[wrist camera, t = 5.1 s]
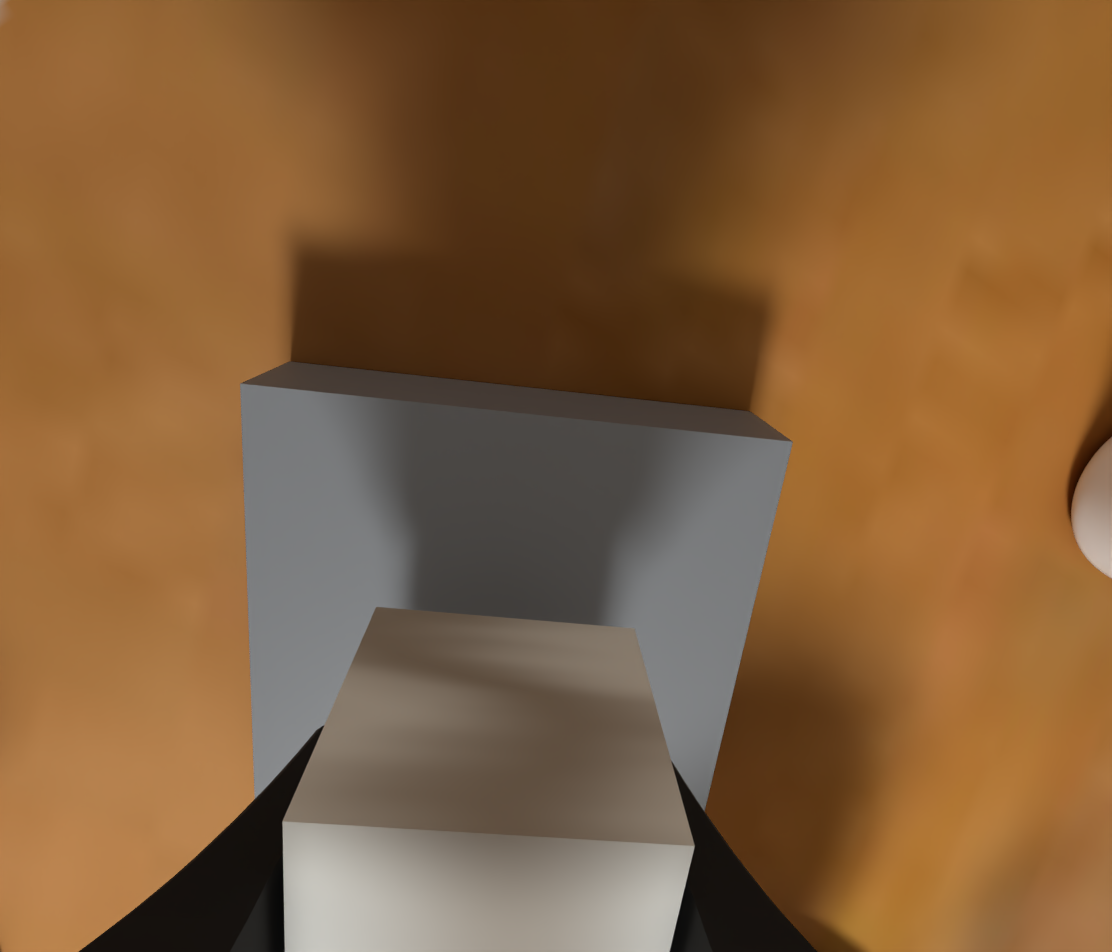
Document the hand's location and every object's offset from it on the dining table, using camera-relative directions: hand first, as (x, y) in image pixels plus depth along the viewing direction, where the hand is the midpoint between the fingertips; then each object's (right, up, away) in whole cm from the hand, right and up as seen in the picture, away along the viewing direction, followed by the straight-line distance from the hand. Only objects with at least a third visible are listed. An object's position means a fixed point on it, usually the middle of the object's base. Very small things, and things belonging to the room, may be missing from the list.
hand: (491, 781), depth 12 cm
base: (0, +2, +7) cm, 7 cm away
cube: (0, 0, +1) cm, 2 cm away
